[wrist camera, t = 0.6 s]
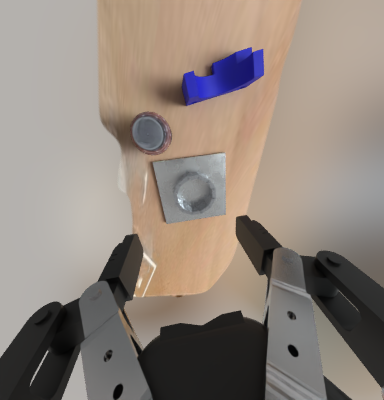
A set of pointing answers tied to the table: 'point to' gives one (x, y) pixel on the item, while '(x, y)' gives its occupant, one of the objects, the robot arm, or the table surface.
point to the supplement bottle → (150, 133)
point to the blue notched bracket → (224, 76)
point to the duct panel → (192, 187)
